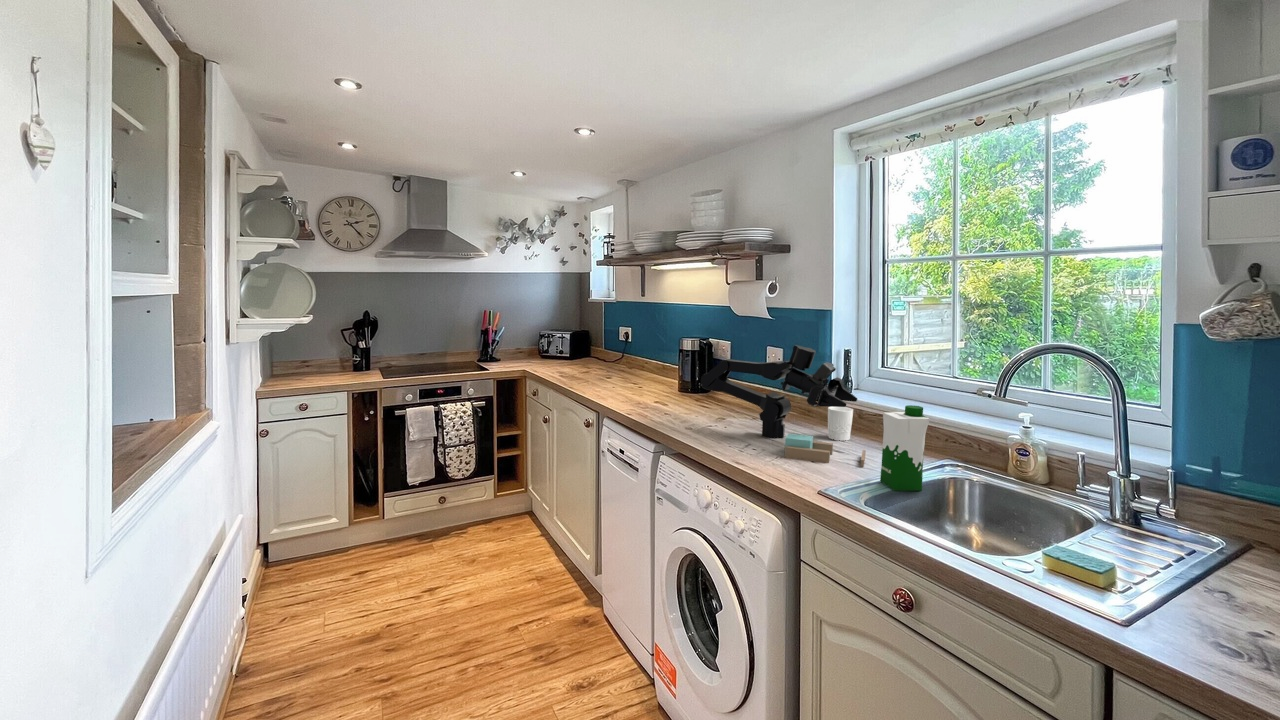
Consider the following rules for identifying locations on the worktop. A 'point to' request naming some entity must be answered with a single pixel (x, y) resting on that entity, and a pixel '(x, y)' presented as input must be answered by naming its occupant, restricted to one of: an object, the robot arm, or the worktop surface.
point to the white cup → (839, 423)
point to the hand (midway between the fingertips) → (851, 402)
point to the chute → (815, 452)
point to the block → (799, 441)
